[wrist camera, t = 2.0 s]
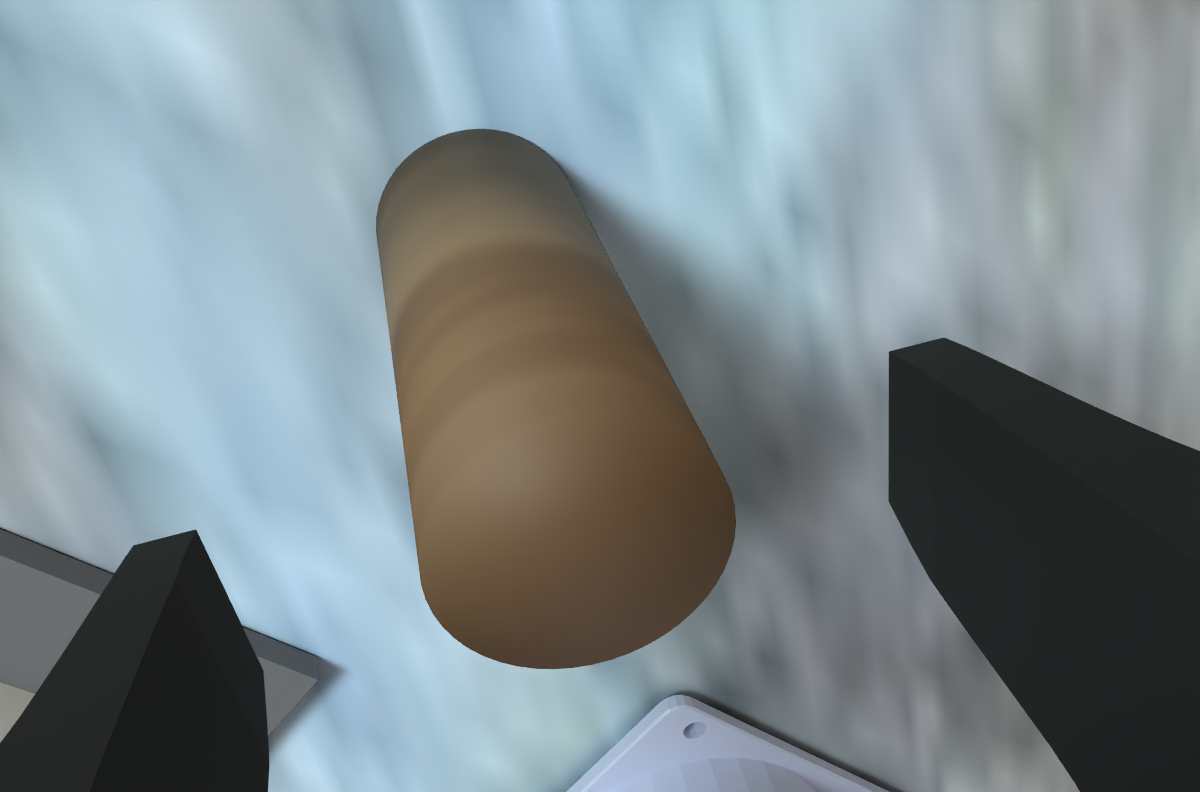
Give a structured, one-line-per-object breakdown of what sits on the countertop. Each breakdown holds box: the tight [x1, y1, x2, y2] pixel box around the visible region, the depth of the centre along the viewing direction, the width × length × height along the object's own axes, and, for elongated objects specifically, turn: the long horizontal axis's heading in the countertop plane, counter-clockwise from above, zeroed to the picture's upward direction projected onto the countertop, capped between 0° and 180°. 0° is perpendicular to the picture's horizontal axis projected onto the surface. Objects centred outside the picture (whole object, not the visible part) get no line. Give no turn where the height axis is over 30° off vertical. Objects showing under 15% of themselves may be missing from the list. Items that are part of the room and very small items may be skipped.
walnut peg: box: [376, 129, 736, 669], centre depth 14 cm, size 3×3×8 cm
